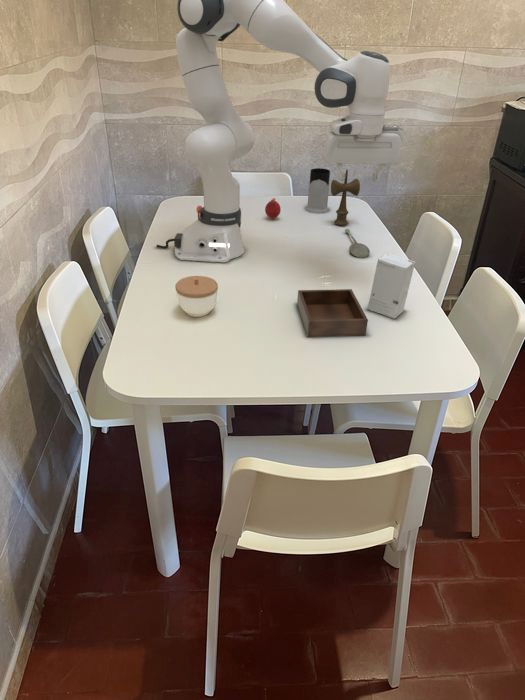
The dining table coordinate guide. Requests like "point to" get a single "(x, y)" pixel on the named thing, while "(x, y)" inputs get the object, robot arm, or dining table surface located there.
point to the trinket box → (197, 295)
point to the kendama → (344, 197)
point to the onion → (272, 209)
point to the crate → (331, 313)
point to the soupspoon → (358, 247)
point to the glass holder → (318, 190)
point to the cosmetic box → (391, 285)
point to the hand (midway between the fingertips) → (358, 180)
